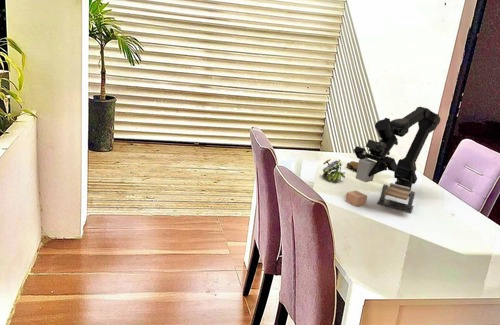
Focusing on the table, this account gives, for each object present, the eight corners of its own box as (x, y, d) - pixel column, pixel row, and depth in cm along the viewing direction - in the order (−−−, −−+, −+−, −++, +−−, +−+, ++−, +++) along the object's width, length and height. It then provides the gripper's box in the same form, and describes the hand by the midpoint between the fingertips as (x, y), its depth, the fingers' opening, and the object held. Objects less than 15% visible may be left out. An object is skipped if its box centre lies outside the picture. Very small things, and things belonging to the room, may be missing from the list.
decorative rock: (345, 172, 237) (375, 178, 236) (347, 164, 236) (377, 170, 234) (345, 164, 248) (373, 170, 246) (347, 157, 246) (375, 163, 245)
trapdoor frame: (379, 199, 202) (383, 182, 200) (413, 208, 197) (417, 190, 195) (376, 204, 196) (380, 186, 194) (411, 213, 191) (415, 195, 189)
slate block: (362, 176, 194) (366, 158, 192) (372, 180, 190) (376, 162, 188) (355, 178, 191) (359, 159, 188) (365, 182, 187) (369, 163, 185)
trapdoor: (388, 187, 199) (389, 182, 198) (410, 193, 195) (411, 188, 195) (383, 196, 188) (384, 190, 187) (406, 202, 184) (407, 196, 184)
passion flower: (322, 187, 225) (323, 163, 229) (345, 187, 222) (346, 164, 226) (320, 180, 215) (321, 155, 219) (344, 180, 212) (345, 155, 216)
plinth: (354, 199, 198) (356, 190, 197) (365, 204, 194) (367, 195, 193) (345, 201, 195) (346, 192, 194) (356, 206, 190) (358, 197, 189)
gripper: (360, 127, 194) (338, 155, 190) (399, 139, 181) (377, 169, 177) (368, 144, 201) (347, 171, 198) (406, 156, 188) (384, 186, 184)
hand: (363, 174), depth 189 cm, fingers closed on slate block, 5 cm apart
